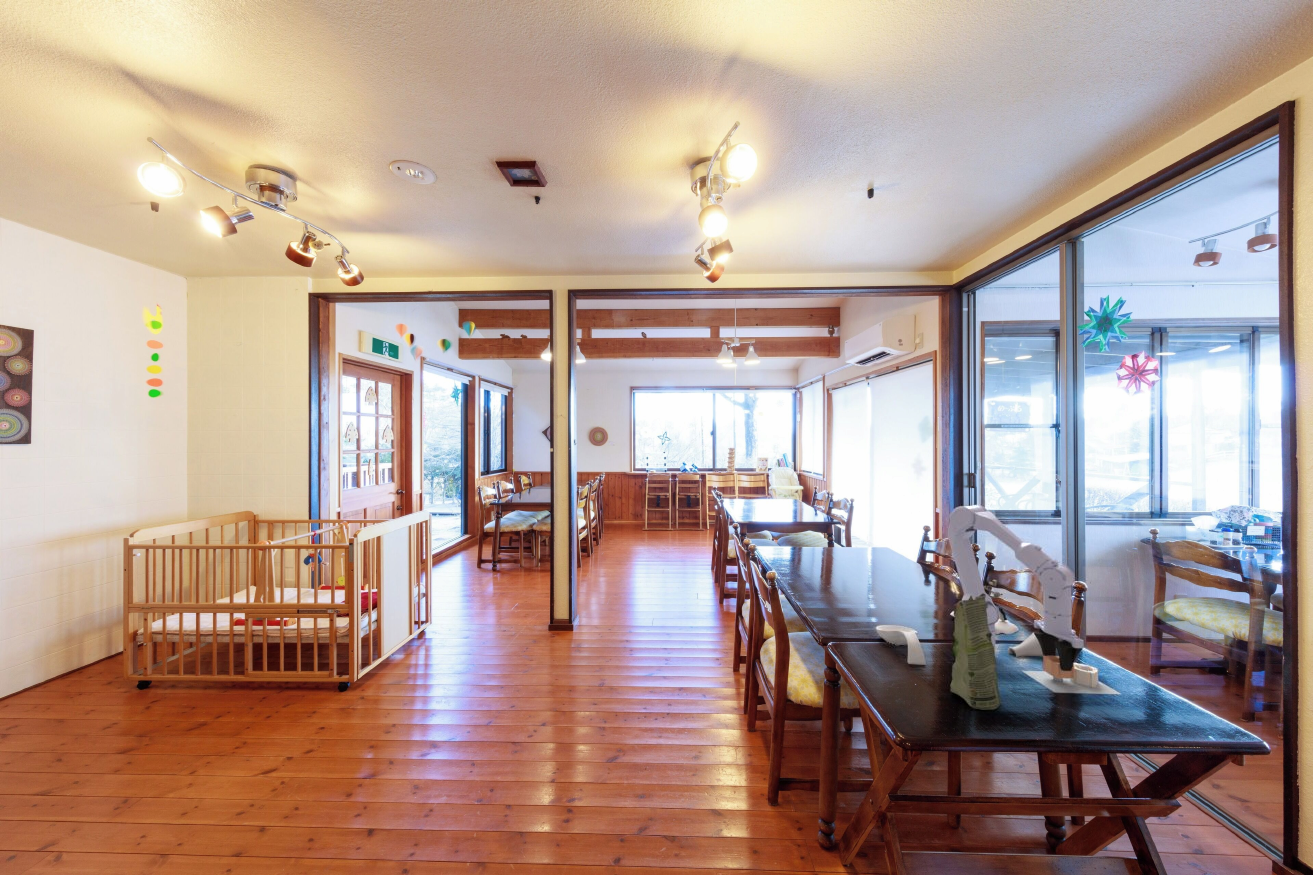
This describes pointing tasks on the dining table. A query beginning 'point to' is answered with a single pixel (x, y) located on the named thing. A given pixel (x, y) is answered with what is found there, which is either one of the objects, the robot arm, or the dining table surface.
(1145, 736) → the dining table surface
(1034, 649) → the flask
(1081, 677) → the gear
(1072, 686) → the gear board
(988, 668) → the pouch
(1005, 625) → the figurine
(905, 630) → the spoon rest
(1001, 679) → the dining table surface
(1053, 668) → the gear
